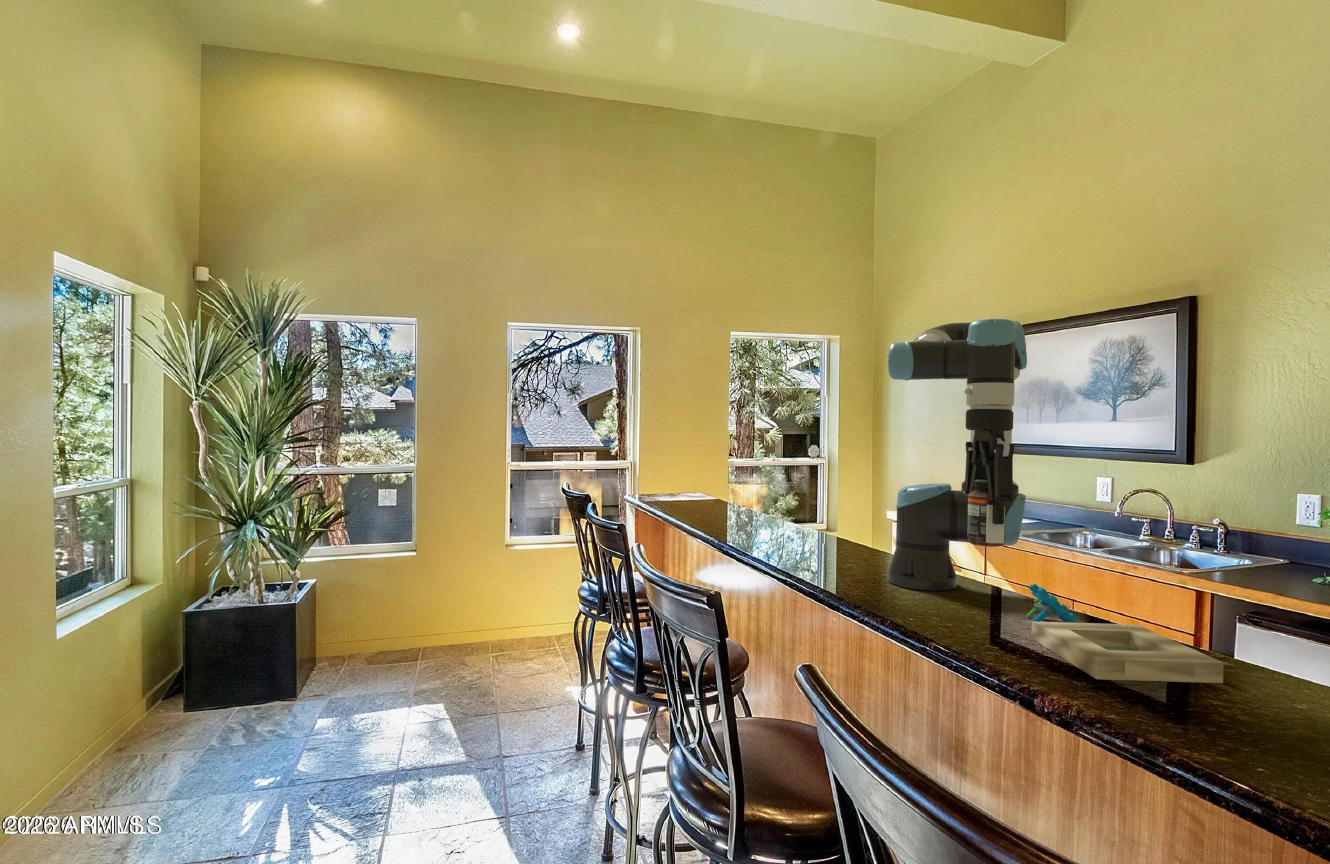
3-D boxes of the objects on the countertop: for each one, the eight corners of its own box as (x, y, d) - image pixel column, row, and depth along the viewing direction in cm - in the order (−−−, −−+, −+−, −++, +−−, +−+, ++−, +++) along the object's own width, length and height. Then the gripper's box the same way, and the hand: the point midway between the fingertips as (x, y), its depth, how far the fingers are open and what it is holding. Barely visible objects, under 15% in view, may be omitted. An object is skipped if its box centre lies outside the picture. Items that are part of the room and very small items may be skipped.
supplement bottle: (994, 541, 118) (996, 479, 118) (1011, 548, 112) (1013, 482, 112) (961, 540, 118) (963, 478, 118) (976, 547, 112) (977, 481, 112)
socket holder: (1031, 638, 113) (1031, 621, 113) (1137, 641, 113) (1137, 624, 113) (1096, 679, 95) (1097, 658, 95) (1223, 683, 95) (1223, 662, 95)
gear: (1092, 626, 115) (1047, 583, 118) (1067, 649, 116) (1023, 606, 118) (1064, 617, 126) (1024, 578, 128) (1041, 638, 126) (1002, 598, 128)
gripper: (946, 409, 124) (943, 530, 124) (992, 406, 105) (988, 549, 105) (986, 409, 124) (983, 531, 124) (1039, 407, 105) (1036, 550, 105)
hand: (986, 539), depth 115 cm, fingers closed on supplement bottle, 6 cm apart
